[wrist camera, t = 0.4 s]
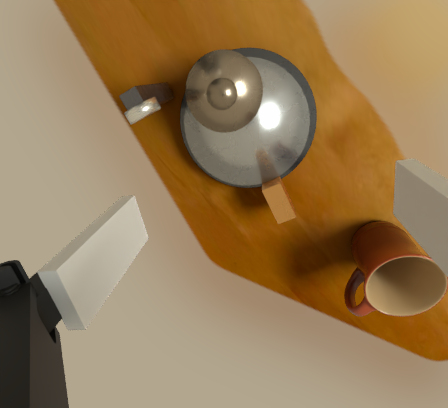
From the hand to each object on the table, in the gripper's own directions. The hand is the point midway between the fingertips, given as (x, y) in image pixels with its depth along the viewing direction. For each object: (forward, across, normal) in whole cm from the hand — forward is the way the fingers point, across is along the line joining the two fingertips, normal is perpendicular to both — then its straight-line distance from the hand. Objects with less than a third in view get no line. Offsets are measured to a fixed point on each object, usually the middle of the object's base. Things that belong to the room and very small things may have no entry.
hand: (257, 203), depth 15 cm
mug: (+25, +13, -20) cm, 35 cm away
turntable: (+24, -1, -2) cm, 24 cm away
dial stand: (+26, -12, +6) cm, 29 cm away
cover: (+22, -3, +4) cm, 23 cm away
